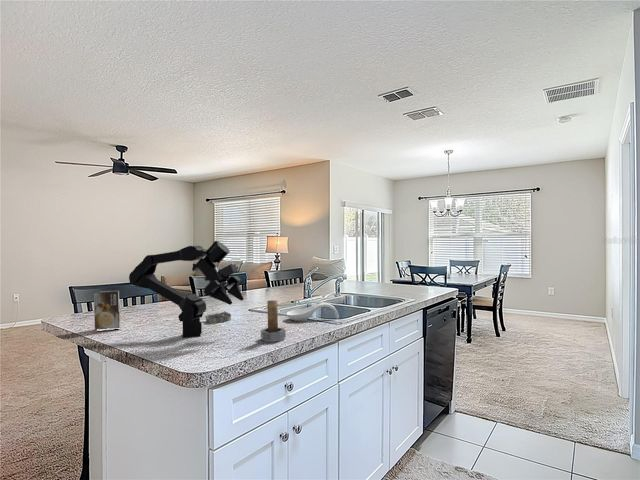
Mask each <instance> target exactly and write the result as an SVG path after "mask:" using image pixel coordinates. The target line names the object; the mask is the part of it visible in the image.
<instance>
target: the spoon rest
mask: <svg viewBox="0 0 640 480" xmlns="http://www.w3.org/2000/svg"><path fill="white" fill-rule="evenodd" d="M323 307H327V308H330V309H331V310H332V311H333V312H334V317H335V319H337V320H338V319H339V318H340V316H339V311H338V310H337V309H336V307H335V306H334V305H333V304H330V303H327V302H320V303H317V304H314V305H312V306H308V307H305V308H299V309H293V310H289V311H287V312H286V314H285V315H286V316H287V318H288V319H289V320H291V321H294V322H306V321H308V319H309V318H311V316H313V314H314V313H315V312H317V310H319V309H320V308H323Z"/></svg>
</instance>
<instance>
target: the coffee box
mask: <svg viewBox="0 0 640 480" xmlns="http://www.w3.org/2000/svg"><path fill="white" fill-rule="evenodd" d="M93 307H94V308H93V310H94V311H93V312H94V315H93V316H94V331H95V330H97V329H107V328H120V329H121V312H120V290H119V289H115V290H100V291H95V292H94V293H93Z"/></svg>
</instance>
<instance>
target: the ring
mask: <svg viewBox="0 0 640 480" xmlns="http://www.w3.org/2000/svg"><path fill="white" fill-rule="evenodd" d="M286 334H287V333H286V329H285V328H284V327H279V326H278V332H268V327H265V328H262V329H260V338H261V341H262V342H265V343H278V342H282V341H285V339H286V337H287V336H286Z"/></svg>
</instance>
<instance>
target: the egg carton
mask: <svg viewBox="0 0 640 480" xmlns="http://www.w3.org/2000/svg"><path fill="white" fill-rule="evenodd" d="M231 316H232V314H231V313H230V312H227V311H225V310H224V311H222V312H219V313H218V312H216V313H212V314H209V313H207V314H206V315H204V318H205V323H209V324H217V323H223V322H229V321H231V319H232V317H231Z"/></svg>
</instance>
